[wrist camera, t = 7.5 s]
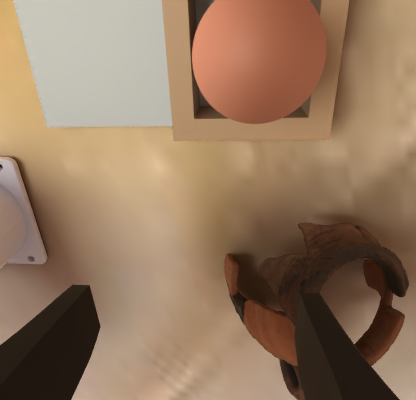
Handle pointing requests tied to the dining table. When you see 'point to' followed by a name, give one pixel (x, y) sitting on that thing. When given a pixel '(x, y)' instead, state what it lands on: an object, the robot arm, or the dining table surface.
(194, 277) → the dining table surface
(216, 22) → the pin
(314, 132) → the mount
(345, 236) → the brown curved piece
